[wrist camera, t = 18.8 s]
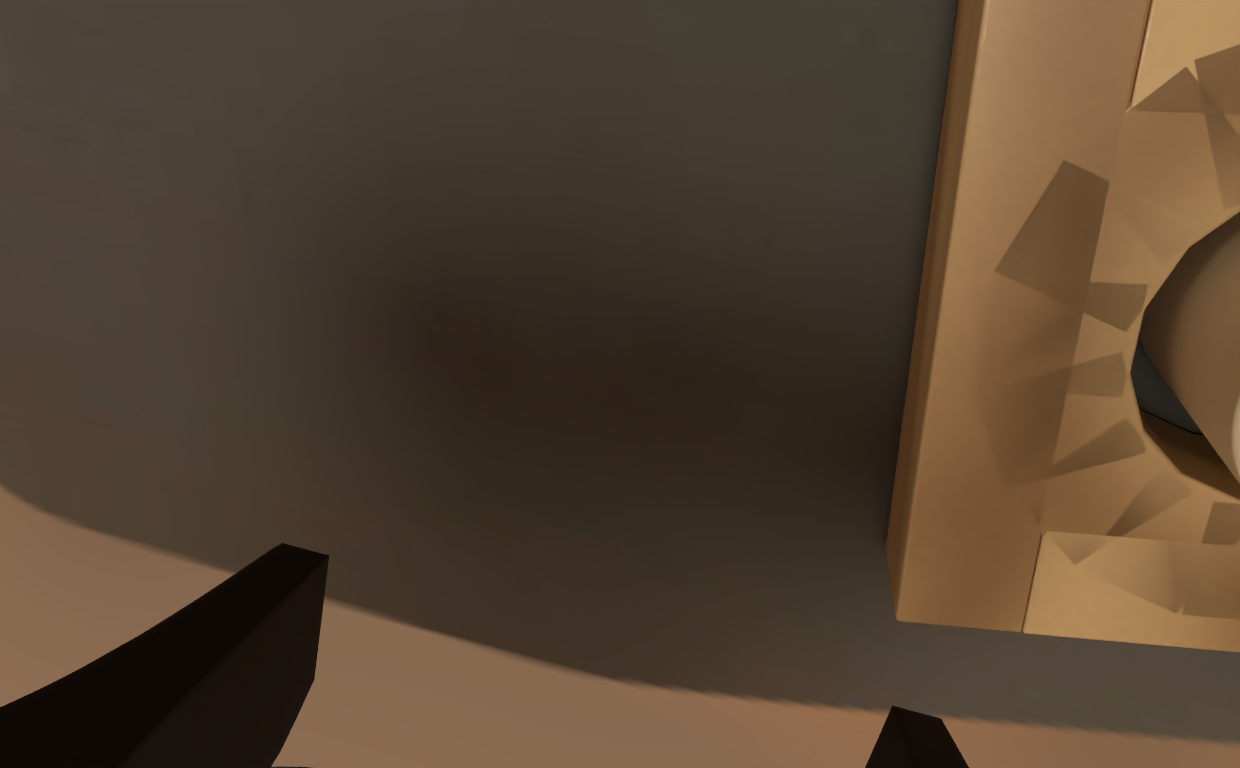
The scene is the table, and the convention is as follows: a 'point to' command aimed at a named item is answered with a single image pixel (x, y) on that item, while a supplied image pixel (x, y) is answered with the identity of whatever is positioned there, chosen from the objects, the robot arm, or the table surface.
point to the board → (1068, 329)
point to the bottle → (1202, 337)
